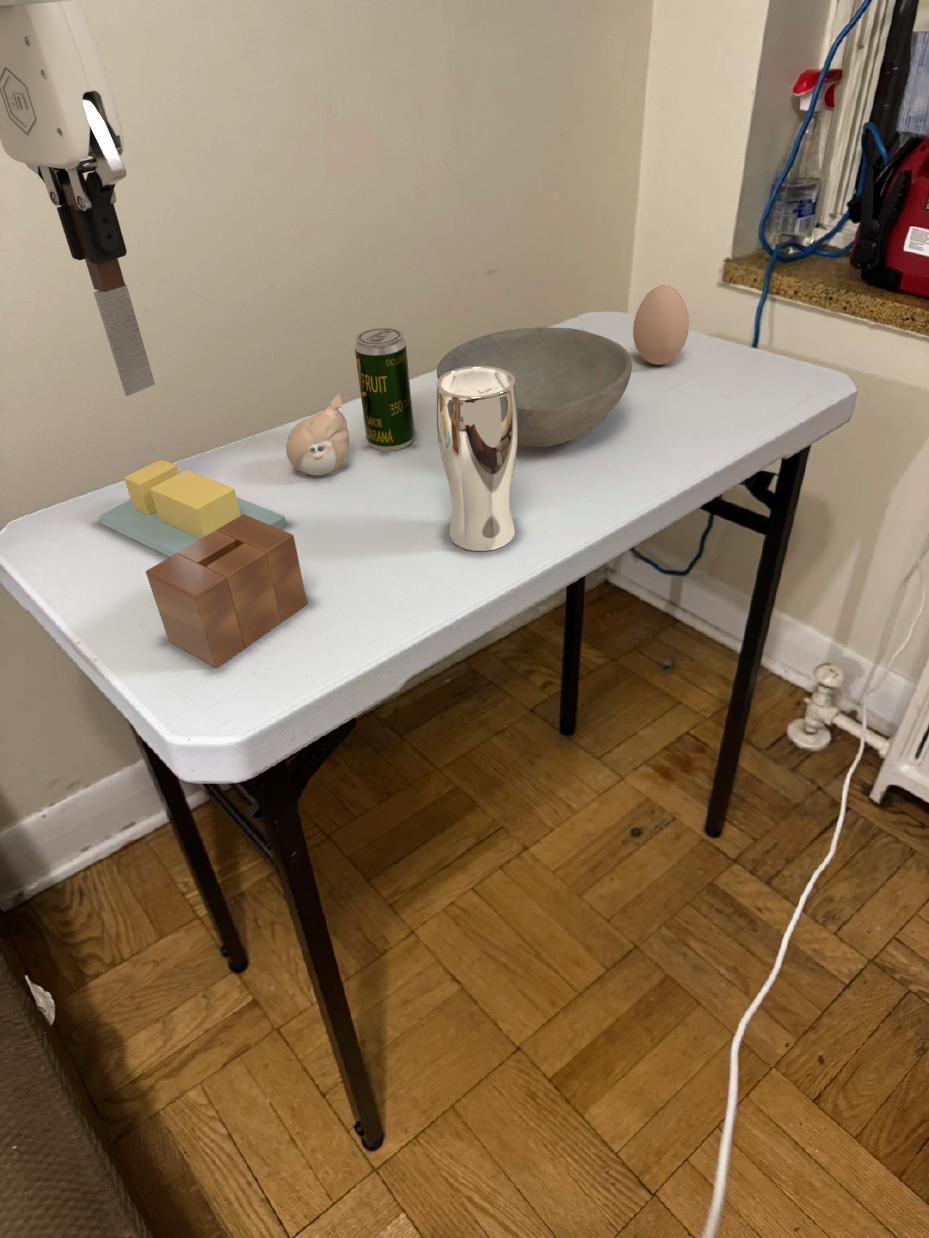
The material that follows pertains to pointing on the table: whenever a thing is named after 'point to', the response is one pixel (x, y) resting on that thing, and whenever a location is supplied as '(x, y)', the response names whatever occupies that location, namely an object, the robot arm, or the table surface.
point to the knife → (116, 315)
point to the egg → (661, 325)
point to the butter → (195, 503)
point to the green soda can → (385, 388)
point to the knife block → (228, 588)
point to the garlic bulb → (319, 441)
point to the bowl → (552, 378)
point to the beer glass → (478, 453)
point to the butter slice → (148, 484)
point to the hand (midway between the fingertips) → (100, 256)
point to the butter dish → (167, 536)
